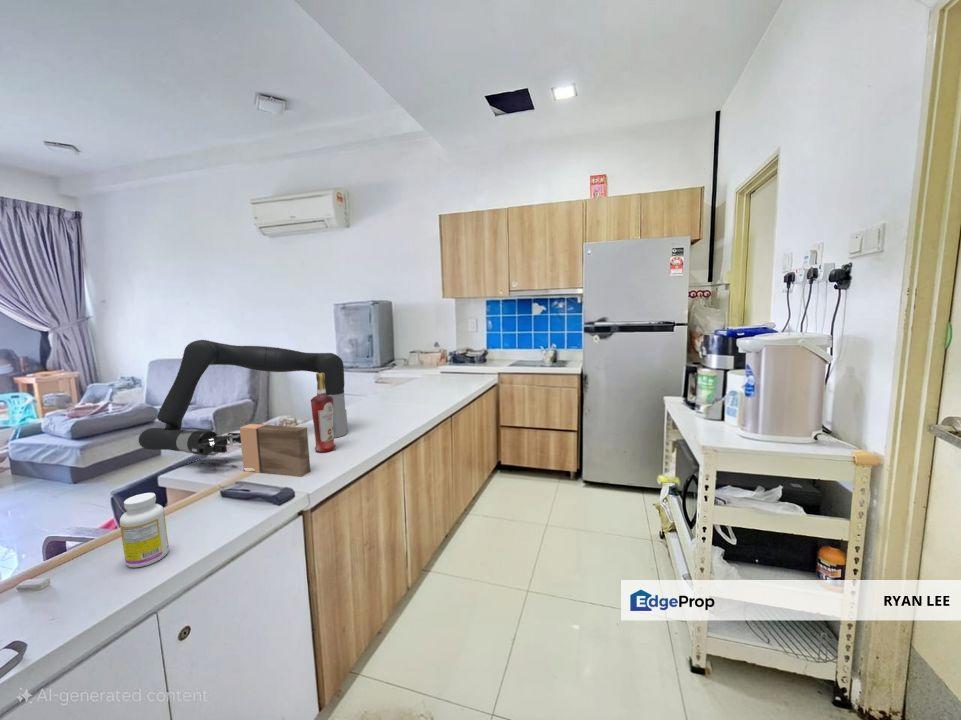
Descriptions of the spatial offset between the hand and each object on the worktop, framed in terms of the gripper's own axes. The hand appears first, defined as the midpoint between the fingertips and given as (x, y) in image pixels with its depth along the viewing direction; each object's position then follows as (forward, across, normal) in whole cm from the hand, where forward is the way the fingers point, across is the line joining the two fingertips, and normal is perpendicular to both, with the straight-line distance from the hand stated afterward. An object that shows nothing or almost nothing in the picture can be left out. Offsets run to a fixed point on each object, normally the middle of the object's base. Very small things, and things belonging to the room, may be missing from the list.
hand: (237, 444), depth 122 cm
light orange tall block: (+7, 0, +8) cm, 10 cm away
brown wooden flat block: (+17, 0, +8) cm, 19 cm away
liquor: (+17, +20, +8) cm, 27 cm away
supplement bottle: (+21, -42, +8) cm, 48 cm away
